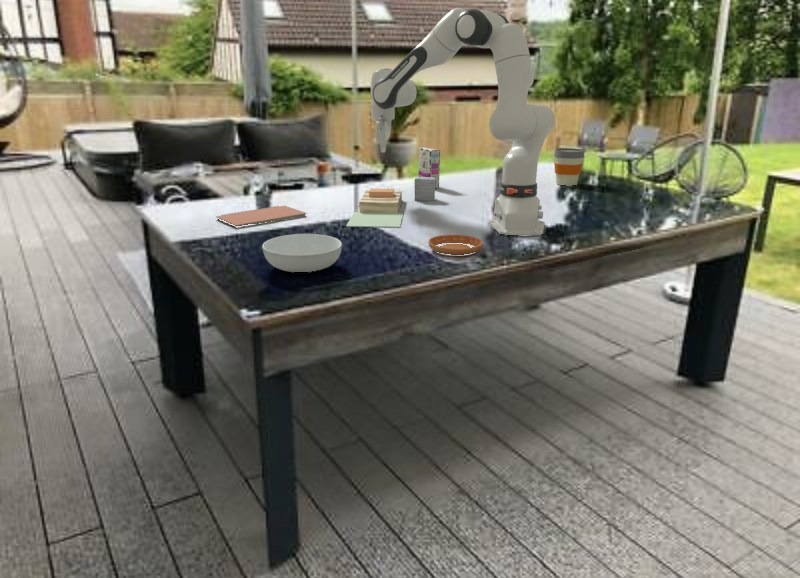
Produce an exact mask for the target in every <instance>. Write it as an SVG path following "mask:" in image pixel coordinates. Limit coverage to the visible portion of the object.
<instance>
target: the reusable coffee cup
mask: <svg viewBox="0 0 800 578" xmlns="http://www.w3.org/2000/svg"><path fill="white" fill-rule="evenodd" d="M584 157H585V151H584V149H581V148H572V147H571V148H569V147H568V148H567V147H565V148H561V147H560V148H556V149H555V150H554V161H555V162H553V163H554V164H553V165H554V174H555V183H556V185H557V184H559V185H558V186H560V185H566V186H565V187H573V186H572V185H576V186H577V185H578V181H579V177H580V175H581V172H582V168H583V159H584Z"/></svg>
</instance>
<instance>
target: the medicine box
mask: <svg viewBox="0 0 800 578" xmlns="http://www.w3.org/2000/svg"><path fill="white" fill-rule="evenodd" d="M435 199H436V189H435V178H434V177H419V176H417V177H415V178H414V201H418V202H419V201H420V202H421V201H423V202H424V201H429V202H434V201H435Z"/></svg>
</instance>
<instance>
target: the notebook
mask: <svg viewBox="0 0 800 578" xmlns="http://www.w3.org/2000/svg"><path fill="white" fill-rule="evenodd" d="M306 214H307V212H305V211H302V210H298V209H296V208H293V207H289V206H287V205H280V206H279V205H275V206H268V207H263V208H256V209H252V210H251V209H250V210H243V211H238V212H237V211H236V212H231V213H230V212H229V213H226V214H221V215H217V216H215V218H216V219H217V218H219V219H221V220H224V221H226V222H228V223H230V224H233V225H235V226H242V225H248V224H259V223H265V222H271V221H272V222H271V223H274V222H273V221H277V222H280V221H279V220H282V221H286V220H285V219H288V220H293V219H292V218H294V219H298V218H304V217H306ZM265 224H266V223H265Z"/></svg>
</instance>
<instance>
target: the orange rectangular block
mask: <svg viewBox="0 0 800 578" xmlns="http://www.w3.org/2000/svg"><path fill="white" fill-rule="evenodd" d="M369 190H370V191H369V197H393V196H394V190H395V188H370V189H369Z"/></svg>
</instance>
